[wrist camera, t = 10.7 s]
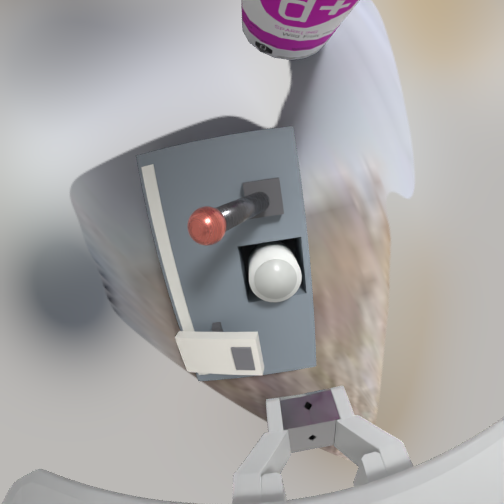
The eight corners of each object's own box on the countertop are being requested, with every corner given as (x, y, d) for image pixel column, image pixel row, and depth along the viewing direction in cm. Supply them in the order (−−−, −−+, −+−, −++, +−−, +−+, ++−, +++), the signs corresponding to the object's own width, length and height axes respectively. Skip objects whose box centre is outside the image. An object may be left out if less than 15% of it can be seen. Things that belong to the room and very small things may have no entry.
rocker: (179, 331, 24) (173, 339, 22) (257, 331, 22) (255, 340, 21) (191, 364, 25) (186, 373, 24) (264, 367, 23) (262, 376, 22)
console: (155, 155, 24) (131, 155, 19) (284, 131, 24) (295, 124, 18) (204, 352, 31) (197, 387, 26) (307, 337, 31) (318, 372, 25)
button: (244, 244, 24) (244, 259, 21) (291, 236, 24) (299, 250, 20) (252, 286, 25) (253, 307, 22) (296, 279, 25) (304, 299, 22)
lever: (249, 186, 20) (175, 213, 14) (275, 184, 19) (206, 210, 13) (253, 214, 20) (184, 250, 14) (279, 213, 19) (214, 252, 13)
